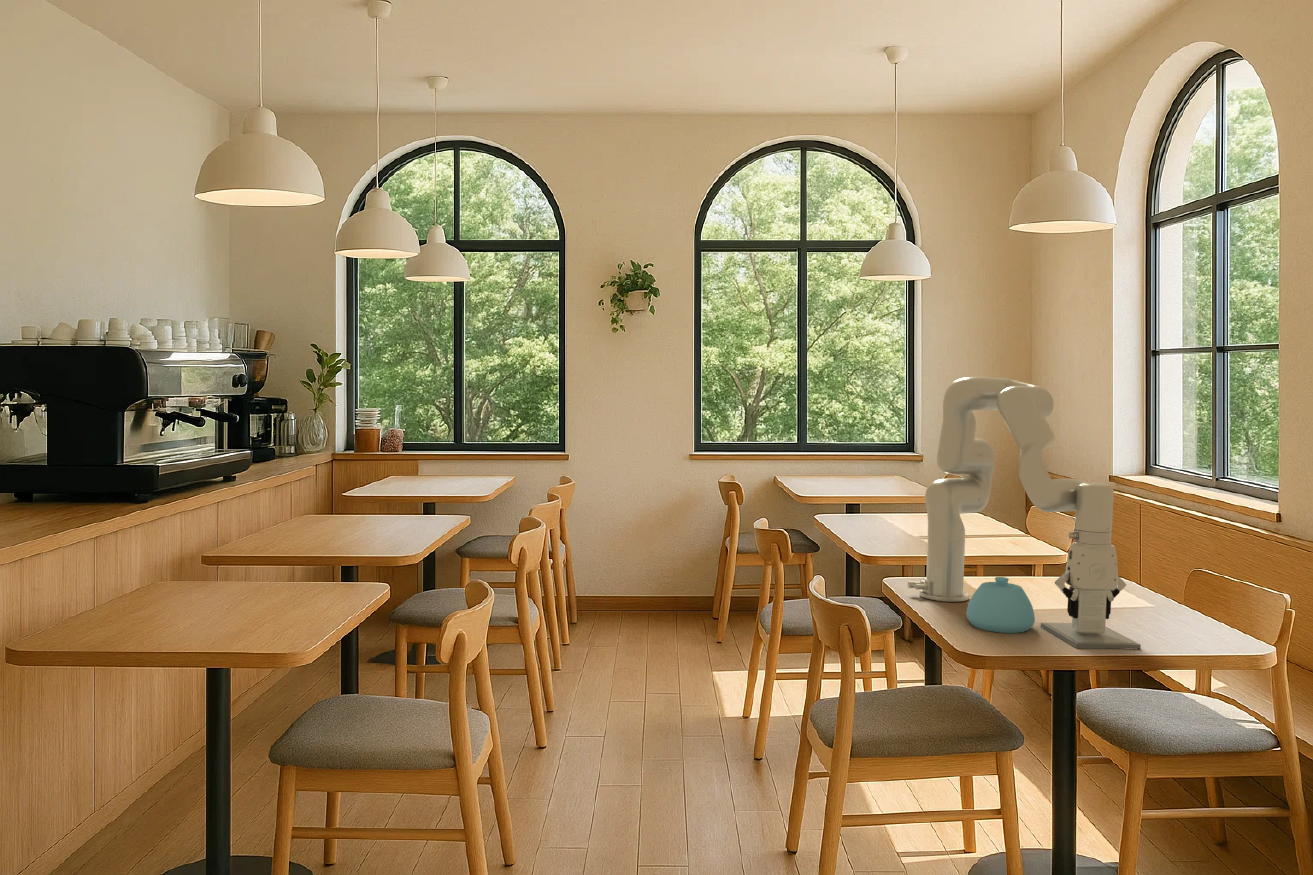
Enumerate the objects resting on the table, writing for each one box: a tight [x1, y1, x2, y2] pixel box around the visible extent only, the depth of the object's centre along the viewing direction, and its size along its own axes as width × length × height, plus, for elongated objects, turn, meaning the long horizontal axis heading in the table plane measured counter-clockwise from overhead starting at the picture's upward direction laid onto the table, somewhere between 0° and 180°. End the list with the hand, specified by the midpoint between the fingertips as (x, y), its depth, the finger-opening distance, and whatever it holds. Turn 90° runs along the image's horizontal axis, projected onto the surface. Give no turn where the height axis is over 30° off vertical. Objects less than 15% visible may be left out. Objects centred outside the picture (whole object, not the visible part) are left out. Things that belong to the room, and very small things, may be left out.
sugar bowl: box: [966, 576, 1036, 634], centre depth 219 cm, size 15×15×12 cm
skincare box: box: [1071, 589, 1107, 633], centre depth 211 cm, size 6×4×12 cm
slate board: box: [1040, 622, 1142, 649], centre depth 211 cm, size 14×18×1 cm
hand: (1088, 616), depth 211 cm, fingers closed on skincare box, 6 cm apart
